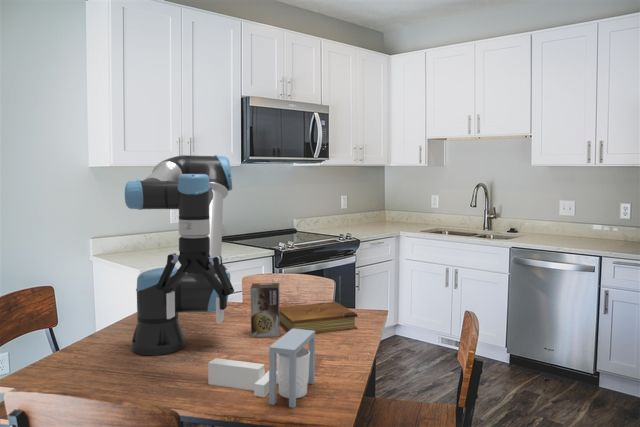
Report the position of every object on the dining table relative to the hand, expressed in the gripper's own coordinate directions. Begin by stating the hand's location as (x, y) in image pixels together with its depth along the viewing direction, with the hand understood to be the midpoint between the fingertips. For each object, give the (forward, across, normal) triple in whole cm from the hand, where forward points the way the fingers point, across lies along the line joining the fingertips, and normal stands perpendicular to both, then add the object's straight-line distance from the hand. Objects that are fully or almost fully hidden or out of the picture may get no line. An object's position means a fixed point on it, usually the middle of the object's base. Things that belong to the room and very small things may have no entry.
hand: (195, 319), depth 134 cm
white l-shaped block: (+15, +13, -1) cm, 20 cm away
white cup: (+15, +27, -2) cm, 31 cm away
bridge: (+15, +27, -2) cm, 31 cm away
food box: (+15, +4, +39) cm, 42 cm away
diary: (+16, +17, +53) cm, 58 cm away
